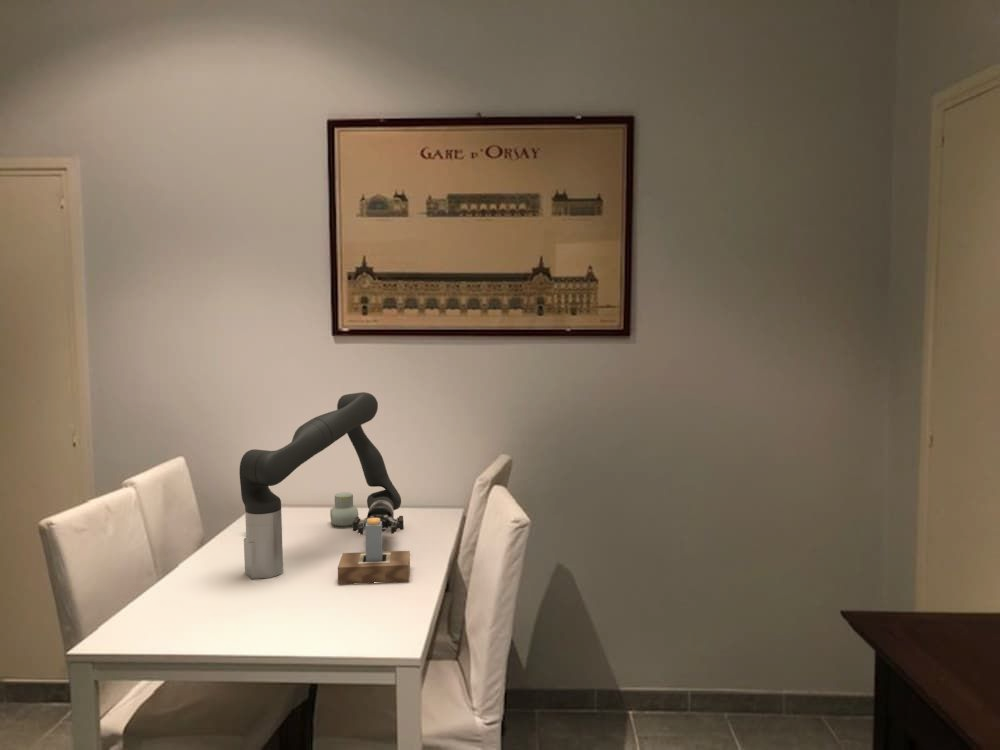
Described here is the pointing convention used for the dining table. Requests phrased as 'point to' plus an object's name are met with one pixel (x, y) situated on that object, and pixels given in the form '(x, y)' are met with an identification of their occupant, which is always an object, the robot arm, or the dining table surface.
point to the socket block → (374, 568)
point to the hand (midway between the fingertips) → (376, 530)
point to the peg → (374, 540)
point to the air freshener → (343, 510)
